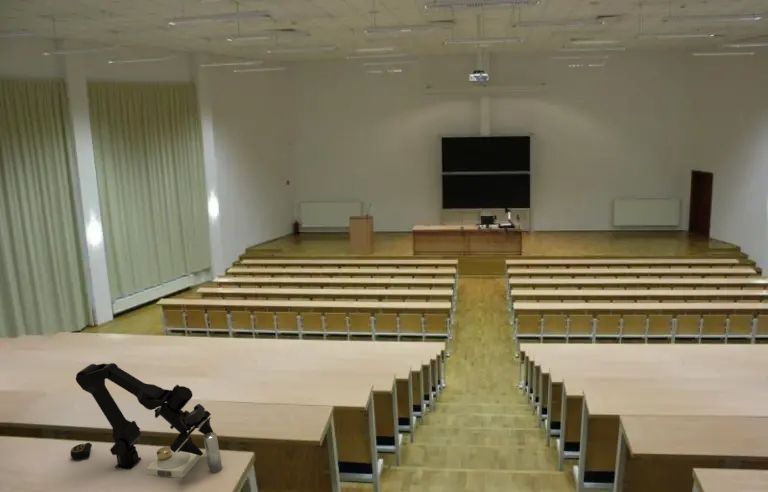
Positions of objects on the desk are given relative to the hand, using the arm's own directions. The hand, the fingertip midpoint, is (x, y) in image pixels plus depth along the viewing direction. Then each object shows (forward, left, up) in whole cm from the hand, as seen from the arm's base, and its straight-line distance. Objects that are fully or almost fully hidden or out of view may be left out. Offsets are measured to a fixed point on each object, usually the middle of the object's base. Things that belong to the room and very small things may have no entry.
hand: (209, 446), depth 204 cm
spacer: (+1, 0, -9) cm, 9 cm away
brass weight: (-18, 0, -5) cm, 19 cm away
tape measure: (-55, +2, -9) cm, 56 cm away
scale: (-15, 0, -9) cm, 17 cm away
